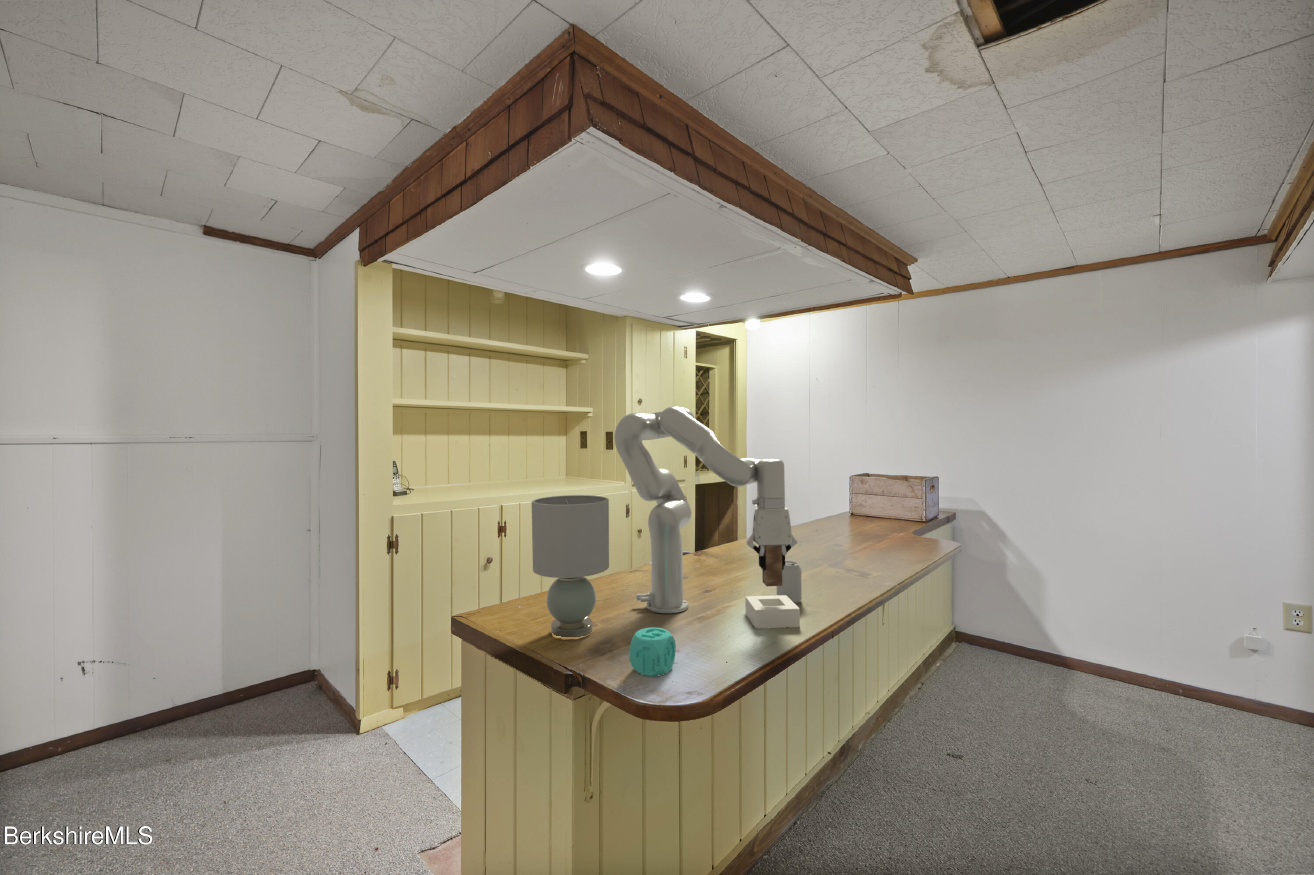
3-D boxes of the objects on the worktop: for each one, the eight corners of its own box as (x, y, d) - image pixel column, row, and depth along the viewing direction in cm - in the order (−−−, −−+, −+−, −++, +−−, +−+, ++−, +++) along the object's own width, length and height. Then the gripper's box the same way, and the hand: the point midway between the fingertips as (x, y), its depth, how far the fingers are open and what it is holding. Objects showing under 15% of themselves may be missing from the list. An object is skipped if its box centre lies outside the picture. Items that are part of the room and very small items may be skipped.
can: (802, 605, 166) (802, 566, 166) (776, 604, 168) (776, 565, 167) (800, 598, 173) (800, 560, 173) (776, 596, 175) (776, 559, 175)
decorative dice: (629, 673, 122) (628, 637, 121) (644, 659, 129) (644, 625, 129) (662, 679, 118) (661, 642, 118) (676, 664, 126) (675, 630, 125)
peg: (766, 586, 151) (766, 542, 151) (762, 581, 156) (761, 539, 155) (782, 585, 152) (781, 542, 151) (777, 581, 156) (777, 539, 156)
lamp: (565, 654, 132) (563, 507, 131) (517, 633, 145) (516, 500, 145) (625, 631, 147) (624, 498, 146) (577, 614, 160) (576, 493, 160)
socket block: (755, 628, 147) (755, 610, 147) (745, 613, 159) (745, 596, 159) (799, 627, 148) (799, 608, 148) (786, 612, 160) (786, 595, 160)
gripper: (744, 506, 149) (745, 573, 149) (805, 504, 150) (806, 571, 150) (738, 502, 156) (739, 566, 157) (796, 500, 158) (797, 564, 158)
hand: (772, 568), depth 154 cm, fingers closed on peg, 4 cm apart
